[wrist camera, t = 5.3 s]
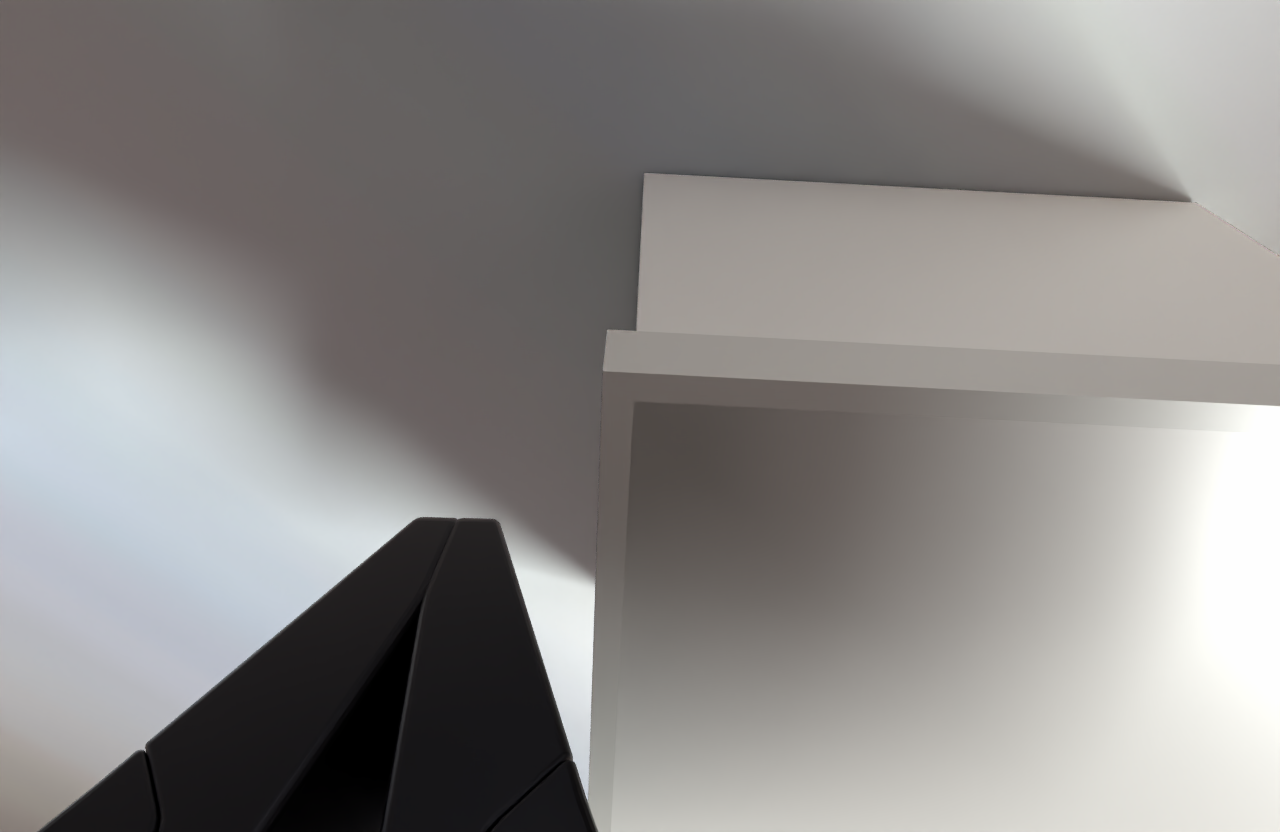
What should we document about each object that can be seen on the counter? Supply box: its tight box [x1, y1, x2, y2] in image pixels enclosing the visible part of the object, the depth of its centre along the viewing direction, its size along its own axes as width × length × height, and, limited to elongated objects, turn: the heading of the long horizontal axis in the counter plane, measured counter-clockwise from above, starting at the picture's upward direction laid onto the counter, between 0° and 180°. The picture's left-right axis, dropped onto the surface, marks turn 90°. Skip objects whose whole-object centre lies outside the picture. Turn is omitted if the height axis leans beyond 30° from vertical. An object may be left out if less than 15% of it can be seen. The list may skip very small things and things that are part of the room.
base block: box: [588, 173, 1280, 832], centre depth 10 cm, size 6×6×5 cm
